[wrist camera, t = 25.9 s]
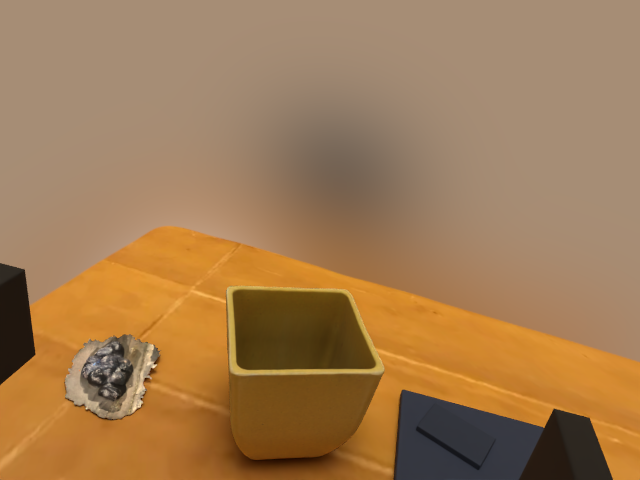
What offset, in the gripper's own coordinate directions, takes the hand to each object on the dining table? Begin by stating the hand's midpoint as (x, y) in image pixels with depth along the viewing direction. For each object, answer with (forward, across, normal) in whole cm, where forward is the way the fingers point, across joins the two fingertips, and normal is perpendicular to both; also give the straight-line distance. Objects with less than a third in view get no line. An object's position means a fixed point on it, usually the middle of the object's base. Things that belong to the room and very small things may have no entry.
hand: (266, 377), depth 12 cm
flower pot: (+16, -2, -19) cm, 25 cm away
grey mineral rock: (+16, -14, -19) cm, 28 cm away
